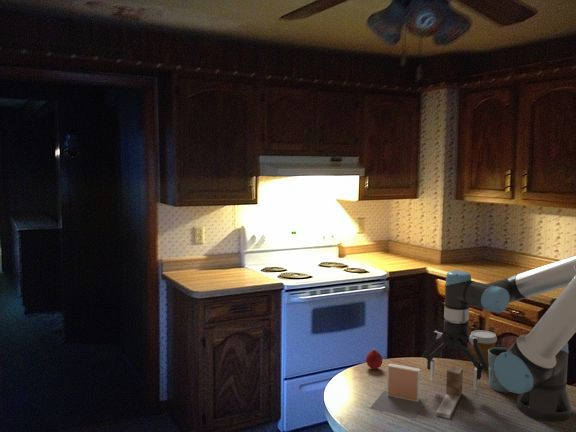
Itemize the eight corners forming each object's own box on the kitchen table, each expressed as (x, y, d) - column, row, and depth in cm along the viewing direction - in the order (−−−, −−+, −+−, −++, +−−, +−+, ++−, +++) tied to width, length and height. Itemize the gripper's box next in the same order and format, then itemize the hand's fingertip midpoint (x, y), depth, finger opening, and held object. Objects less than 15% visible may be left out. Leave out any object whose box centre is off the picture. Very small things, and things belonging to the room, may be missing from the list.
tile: (419, 399, 175) (420, 368, 174) (418, 402, 173) (418, 371, 172) (389, 393, 180) (389, 363, 179) (387, 395, 178) (387, 365, 177)
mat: (426, 400, 175) (426, 399, 175) (415, 419, 163) (415, 418, 163) (384, 391, 182) (384, 390, 182) (369, 409, 169) (369, 408, 169)
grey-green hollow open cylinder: (481, 386, 186) (482, 351, 184) (496, 378, 192) (497, 344, 191) (510, 396, 178) (511, 360, 177) (524, 387, 185) (526, 352, 183)
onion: (383, 367, 202) (383, 346, 201) (381, 373, 196) (381, 352, 195) (367, 366, 203) (367, 345, 203) (364, 372, 198) (365, 350, 197)
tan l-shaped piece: (461, 394, 179) (462, 367, 178) (449, 419, 163) (450, 390, 162) (449, 392, 181) (450, 365, 180) (435, 416, 165) (436, 387, 163)
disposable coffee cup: (469, 369, 200) (470, 337, 199) (467, 359, 209) (468, 329, 208) (497, 371, 198) (499, 339, 196) (494, 361, 207) (495, 330, 206)
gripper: (499, 322, 173) (495, 387, 175) (420, 310, 184) (417, 371, 187) (496, 329, 166) (492, 396, 169) (414, 317, 178) (411, 380, 180)
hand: (453, 383), depth 178 cm, fingers open, 13 cm apart
